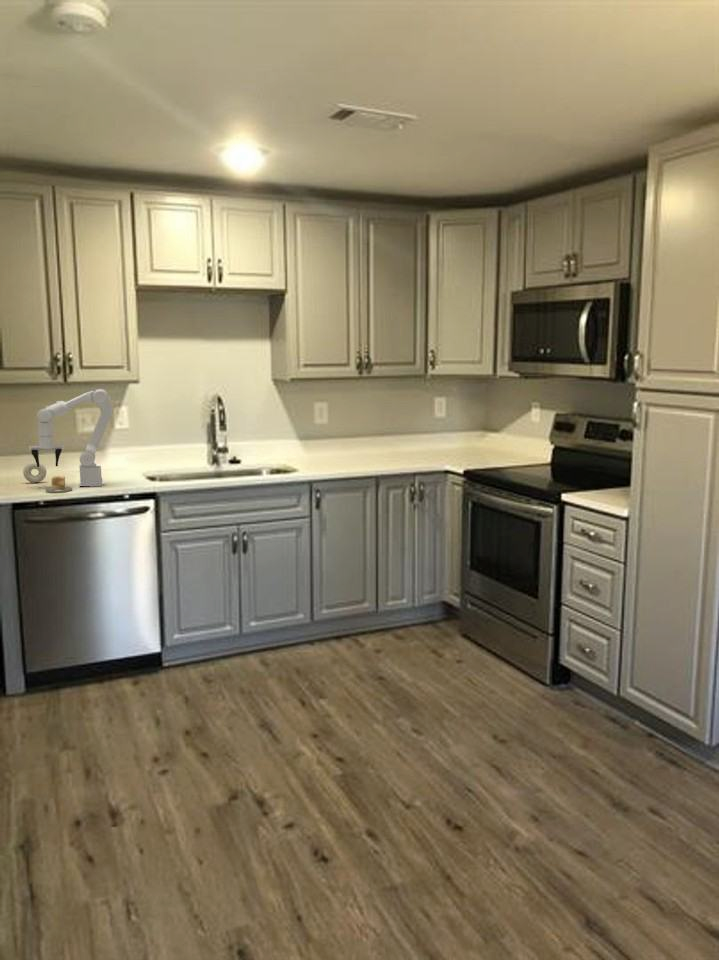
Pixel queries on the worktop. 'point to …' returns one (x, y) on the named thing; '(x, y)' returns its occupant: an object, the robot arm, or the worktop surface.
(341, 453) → the worktop surface
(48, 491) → the plate
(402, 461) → the worktop surface
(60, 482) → the cube
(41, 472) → the donut
